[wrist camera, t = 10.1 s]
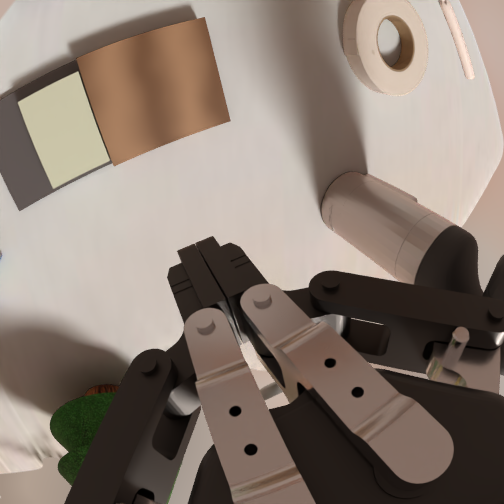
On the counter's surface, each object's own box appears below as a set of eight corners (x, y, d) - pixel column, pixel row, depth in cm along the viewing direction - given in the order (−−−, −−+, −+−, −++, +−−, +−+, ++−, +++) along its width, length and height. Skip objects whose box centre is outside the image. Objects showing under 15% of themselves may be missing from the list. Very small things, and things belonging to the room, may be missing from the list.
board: (198, 20, 25) (204, 17, 23) (223, 118, 32) (230, 121, 30) (77, 59, 22) (76, 58, 20) (113, 161, 29) (114, 166, 27)
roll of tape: (390, -19, 29) (405, -21, 27) (424, 66, 39) (438, 68, 37) (320, 15, 30) (336, 13, 27) (368, 112, 40) (383, 117, 37)
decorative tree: (184, 381, 49) (269, 546, 26) (122, 436, 50) (176, 578, 27) (84, 338, 37) (143, 575, 14) (30, 407, 38) (63, 586, 15)
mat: (87, 55, 22) (87, 55, 22) (122, 157, 29) (122, 158, 29) (-22, 114, 19) (-23, 115, 19) (20, 209, 26) (19, 211, 26)
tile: (79, 71, 22) (78, 71, 21) (109, 156, 28) (110, 160, 26) (22, 101, 21) (17, 102, 20) (55, 183, 26) (53, 188, 25)
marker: (433, -4, 33) (445, -4, 31) (438, -8, 33) (449, -8, 31) (463, 78, 44) (473, 80, 43) (467, 73, 44) (477, 75, 43)
